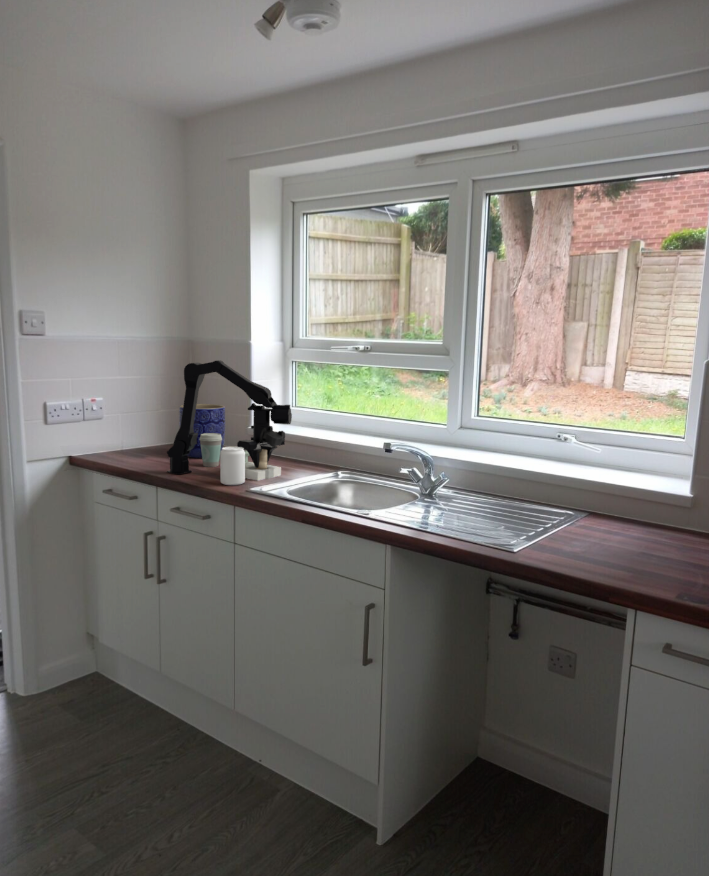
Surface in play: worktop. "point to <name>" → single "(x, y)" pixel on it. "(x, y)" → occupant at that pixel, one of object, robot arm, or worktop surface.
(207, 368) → the robot arm
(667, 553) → the worktop surface
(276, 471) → the socket
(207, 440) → the coffee cup
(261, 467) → the peg
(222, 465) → the beverage can
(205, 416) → the planter
